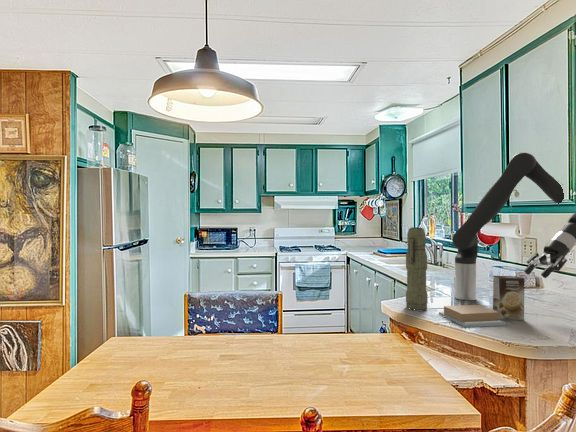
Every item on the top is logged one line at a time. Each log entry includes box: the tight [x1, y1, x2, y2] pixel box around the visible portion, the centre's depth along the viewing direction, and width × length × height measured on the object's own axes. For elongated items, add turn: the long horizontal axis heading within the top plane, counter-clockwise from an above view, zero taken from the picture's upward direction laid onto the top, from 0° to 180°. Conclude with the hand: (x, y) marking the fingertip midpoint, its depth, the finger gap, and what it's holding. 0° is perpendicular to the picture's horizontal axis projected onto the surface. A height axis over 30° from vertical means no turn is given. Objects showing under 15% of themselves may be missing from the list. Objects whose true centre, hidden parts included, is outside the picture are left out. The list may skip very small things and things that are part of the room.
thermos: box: [405, 226, 429, 311], centre depth 163 cm, size 9×12×35 cm
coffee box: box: [492, 275, 525, 321], centre depth 147 cm, size 9×6×16 cm
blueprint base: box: [438, 304, 507, 328], centre depth 145 cm, size 18×16×4 cm
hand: (534, 274), depth 148 cm, fingers open, 8 cm apart
